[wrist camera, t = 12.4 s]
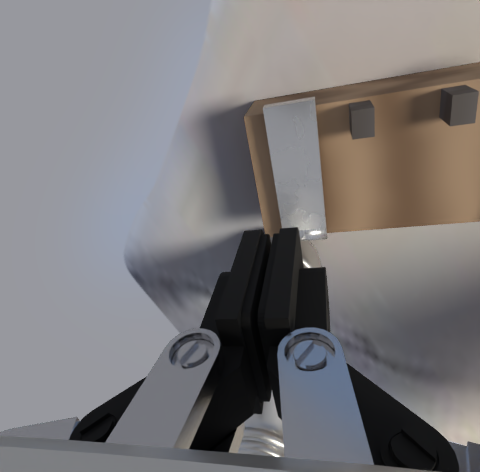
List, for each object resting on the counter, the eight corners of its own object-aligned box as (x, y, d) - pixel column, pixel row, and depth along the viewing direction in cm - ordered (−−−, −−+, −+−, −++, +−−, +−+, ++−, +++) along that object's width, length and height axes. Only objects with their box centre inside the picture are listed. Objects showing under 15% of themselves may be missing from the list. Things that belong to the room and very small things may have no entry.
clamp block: (572, 46, 22) (664, 58, 16) (541, 181, 27) (605, 229, 21) (254, 100, 27) (237, 125, 21) (272, 207, 32) (262, 252, 26)
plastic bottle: (299, 290, 36) (285, 535, 19) (237, 260, 35) (167, 486, 18) (335, 242, 32) (356, 490, 16) (267, 209, 32) (214, 428, 15)
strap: (326, 233, 26) (327, 242, 25) (285, 236, 27) (284, 245, 26) (314, 95, 21) (314, 100, 20) (264, 104, 22) (262, 109, 21)
